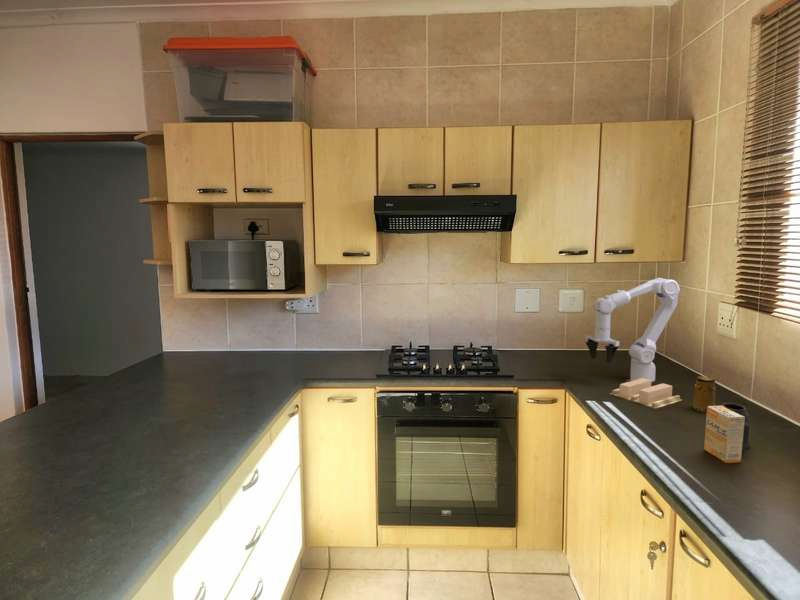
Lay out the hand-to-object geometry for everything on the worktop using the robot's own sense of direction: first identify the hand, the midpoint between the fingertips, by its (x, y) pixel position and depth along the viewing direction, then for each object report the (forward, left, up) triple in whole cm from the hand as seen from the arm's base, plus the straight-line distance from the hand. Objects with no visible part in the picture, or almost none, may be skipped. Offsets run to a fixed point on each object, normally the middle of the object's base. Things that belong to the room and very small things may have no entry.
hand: (601, 360), depth 193 cm
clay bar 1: (+2, +17, -9) cm, 19 cm away
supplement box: (+26, +60, -10) cm, 66 cm away
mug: (+16, +58, -10) cm, 61 cm away
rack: (+2, +21, -10) cm, 23 cm away
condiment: (-3, +40, -10) cm, 41 cm away
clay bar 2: (+2, +25, -9) cm, 26 cm away
